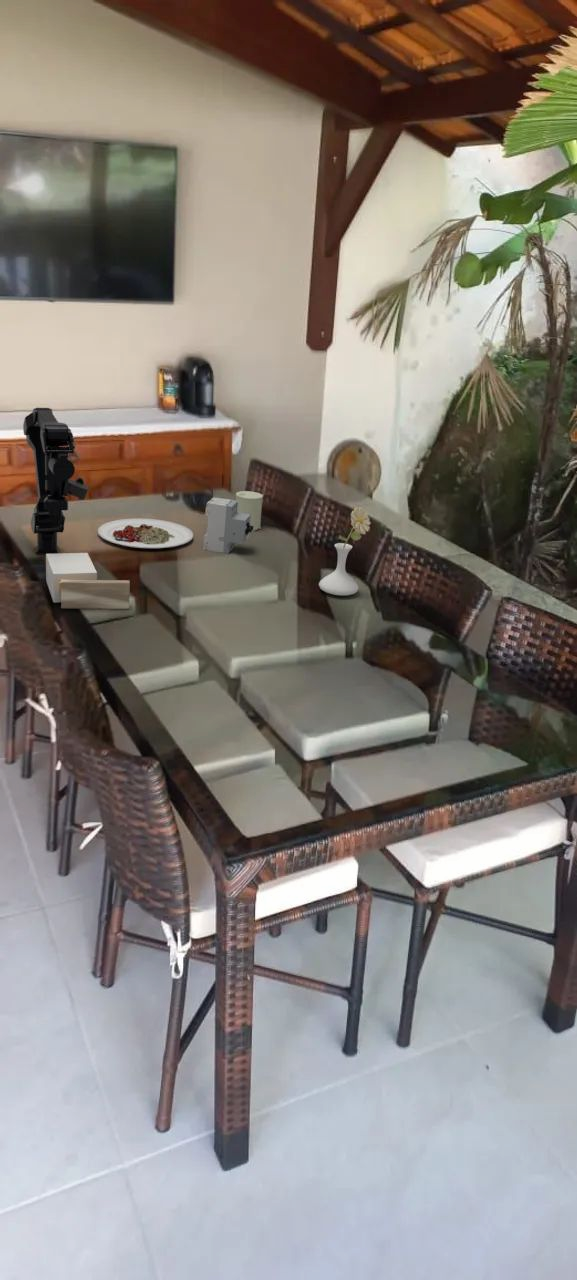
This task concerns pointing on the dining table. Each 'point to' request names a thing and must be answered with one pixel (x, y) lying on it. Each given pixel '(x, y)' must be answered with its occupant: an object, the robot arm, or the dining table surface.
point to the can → (250, 506)
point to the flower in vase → (339, 578)
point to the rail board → (95, 594)
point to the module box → (67, 570)
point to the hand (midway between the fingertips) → (56, 526)
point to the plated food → (145, 533)
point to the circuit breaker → (225, 525)
